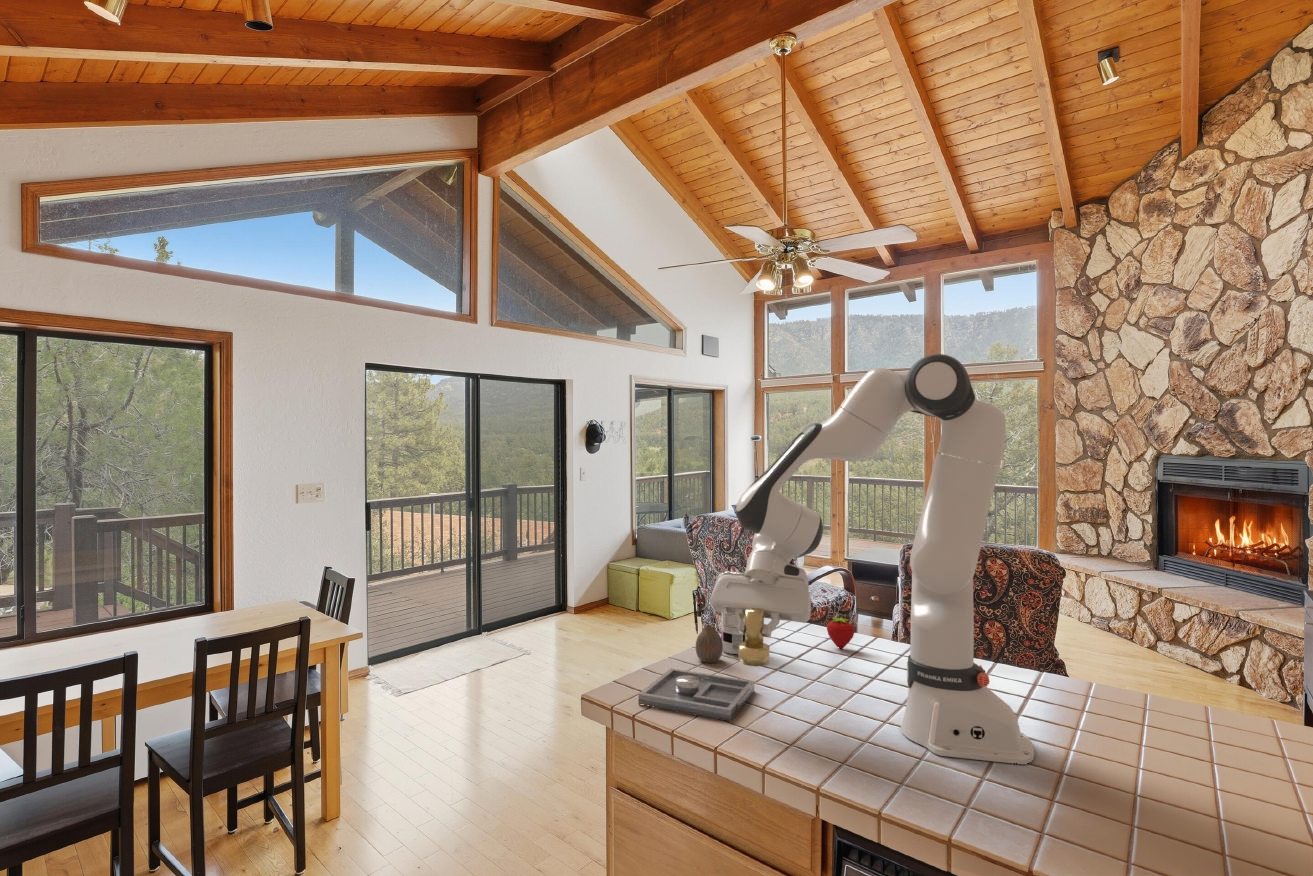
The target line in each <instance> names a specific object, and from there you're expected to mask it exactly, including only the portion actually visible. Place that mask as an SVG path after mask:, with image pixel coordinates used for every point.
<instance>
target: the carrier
mask: <svg viewBox="0 0 1313 876" xmlns="http://www.w3.org/2000/svg"><path fill="white" fill-rule="evenodd" d="M754 693H755V681H752V680H746V679H741V678H734V677H727V676H723V675H715V674H708V673H702V672H697V671H690V670H684V669H677V668H669V669H668V670H667V671H665V672H664V673H663V674H662V675H661V676H659V677H658V678H657V679H656V680H654V681H653V682H652V683H650V684H649V685H648V686H647V687H645V688H644V689H643V690H641V691H640V692H639V693H638V701H637V702H638V703H637V704H644V705H649V706H654V707H657V708H656V709H659V708H661V710H665V709H668V710H667V711H670V710H672V711H671V712H676V711H678V712H677V713H681V712H683V713H682V714H687V715H692V714H696V715H695V716H697V715H700V716H699V717H703V716H705V717H704V718H708V717H709V719H714V720H719V719H722V720H721V721H724V720H727V721H726V722H730V721H733V719H735V717H736V715H737V714H738V713H739V712H740V710H741V709H742V708H743V706H745V704H746V703H747V701H749V699H750V698H751V697H752V695H753V694H754ZM649 706H648V707H649ZM654 707H653V708H654Z"/></svg>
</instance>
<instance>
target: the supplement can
mask: <svg viewBox="0 0 1313 876" xmlns="http://www.w3.org/2000/svg"><path fill="white" fill-rule="evenodd" d="M720 621H721V627H720V628H721V629H720V631H721V632H720V637H721V639H722V643H723V652H724V653H726V654H728V653H729V655H733V654H738V655H737V656H739V644H740V643H742V642H745V634H740V633H738V632H737V626H738V620H737V618H736V615H735V614H727V613H721V620H720ZM741 621H742V622H745V616H744V619H741Z"/></svg>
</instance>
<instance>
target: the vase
mask: <svg viewBox="0 0 1313 876" xmlns="http://www.w3.org/2000/svg"><path fill="white" fill-rule="evenodd" d="M695 652H696V653H695V654H696V656H697V657H698V659H699V660H700V661H701V662H702V663H706V664H714V663H717V662H718V661H719V660H720V659H721V657H722V655H723V652H724V651H723V643H722V639H721V634H719V633H718V631H717V630H716V628H715V625H712V624H705V625H704V627H703V629H702V631H701V632H700V633H699V634H698V635H697V638H696V639H695Z"/></svg>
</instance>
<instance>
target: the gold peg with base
mask: <svg viewBox="0 0 1313 876" xmlns="http://www.w3.org/2000/svg"><path fill="white" fill-rule="evenodd" d="M764 622H765V618H764V610H762V609H757V608H748V609H746V610H745V642H742V643H740V644H739V655H738V662H739V663H740V664H742V665H745V666H750V667H763V666H767V665H769V664H770V650H771V649H770V645H769V644H767V643H765V642H764V637H763V635H762V629H763V625H765V623H764Z"/></svg>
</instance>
